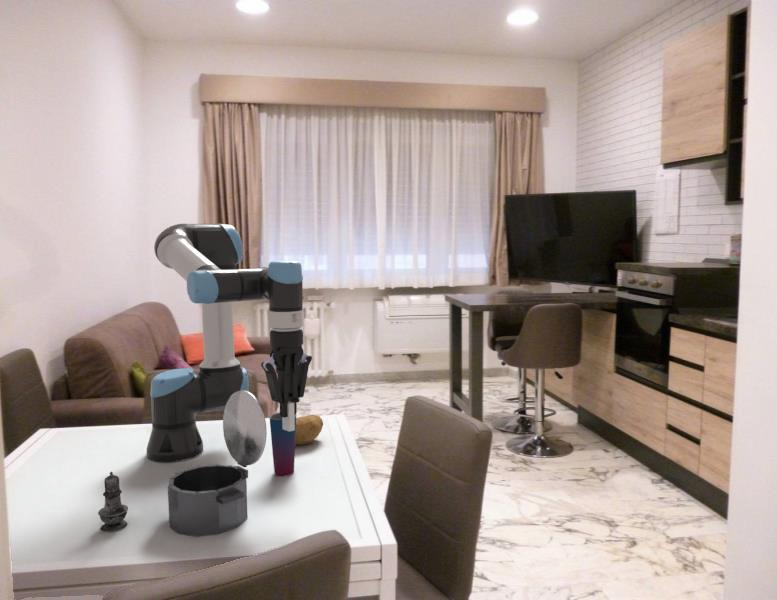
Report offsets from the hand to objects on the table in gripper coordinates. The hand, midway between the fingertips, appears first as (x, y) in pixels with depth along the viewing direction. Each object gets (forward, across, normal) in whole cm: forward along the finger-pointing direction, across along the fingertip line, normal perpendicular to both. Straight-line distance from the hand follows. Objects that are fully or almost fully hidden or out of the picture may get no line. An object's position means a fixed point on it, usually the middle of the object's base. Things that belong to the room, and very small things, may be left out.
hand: (288, 429), depth 143 cm
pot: (+16, -19, +4) cm, 25 cm away
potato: (+17, +27, +29) cm, 43 cm away
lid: (-2, -10, +4) cm, 11 cm away
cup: (+17, +8, +14) cm, 23 cm away
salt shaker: (+17, -34, +15) cm, 41 cm away
